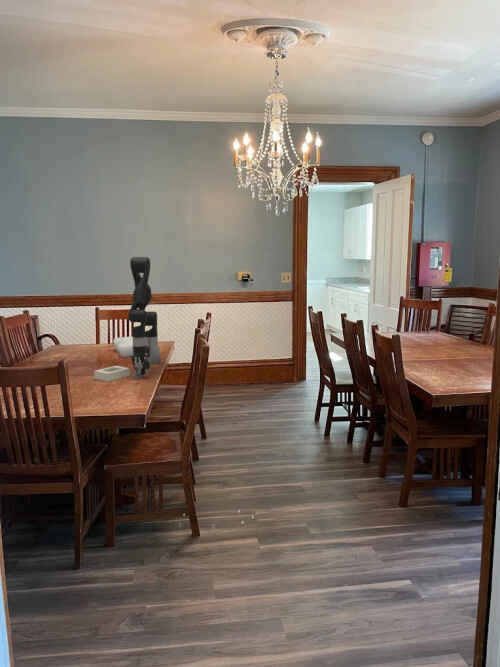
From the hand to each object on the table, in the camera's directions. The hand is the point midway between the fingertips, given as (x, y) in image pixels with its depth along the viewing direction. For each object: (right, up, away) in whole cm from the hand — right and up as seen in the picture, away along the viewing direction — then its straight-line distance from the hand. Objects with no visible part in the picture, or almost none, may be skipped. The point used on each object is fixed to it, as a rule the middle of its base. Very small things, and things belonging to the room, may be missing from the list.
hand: (140, 373), depth 294 cm
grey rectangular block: (-1, -2, -1) cm, 3 cm away
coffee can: (-3, +1, +18) cm, 18 cm away
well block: (-16, -2, 0) cm, 16 cm away
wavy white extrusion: (-24, +9, +68) cm, 72 cm away
